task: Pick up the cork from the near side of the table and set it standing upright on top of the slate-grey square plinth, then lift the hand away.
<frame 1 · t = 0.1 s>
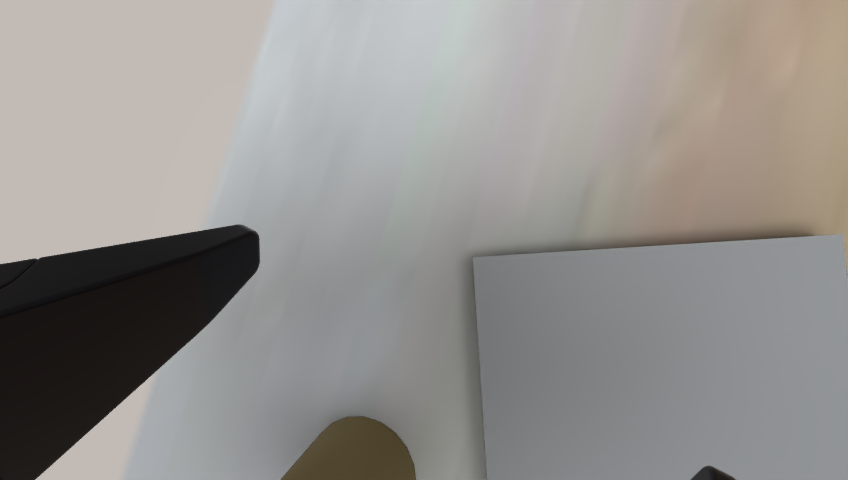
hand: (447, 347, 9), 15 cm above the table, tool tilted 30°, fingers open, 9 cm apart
plinth: (645, 403, 21), on the table
cork: (362, 472, 25), on the table
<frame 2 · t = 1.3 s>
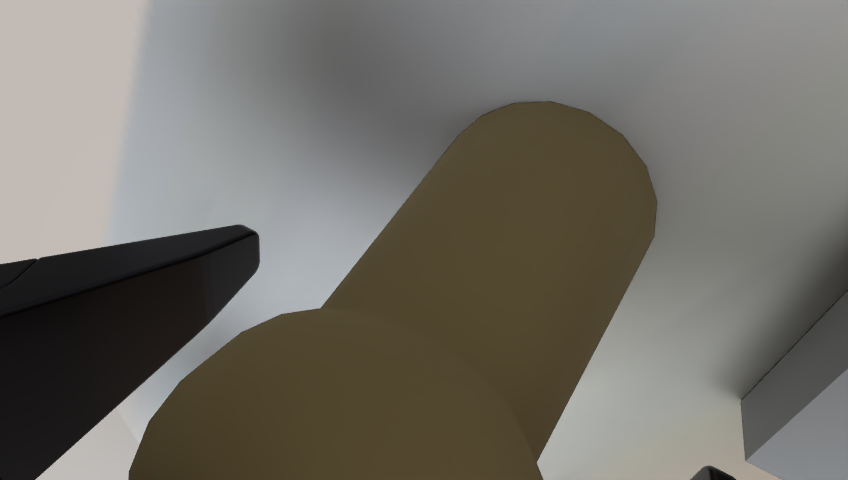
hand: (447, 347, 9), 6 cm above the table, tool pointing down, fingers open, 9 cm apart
cork: (538, 208, 13), on the table
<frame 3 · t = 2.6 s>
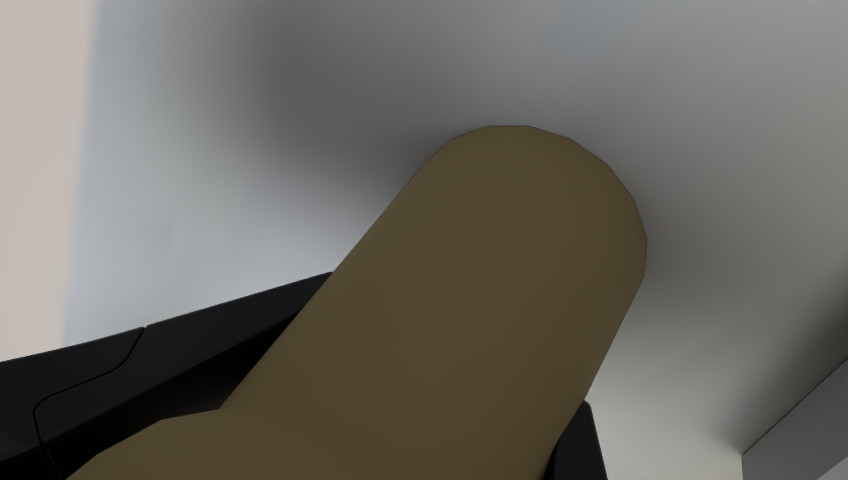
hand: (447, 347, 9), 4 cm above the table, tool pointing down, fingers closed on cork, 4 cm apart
cork: (516, 241, 12), on the table, touching gripper
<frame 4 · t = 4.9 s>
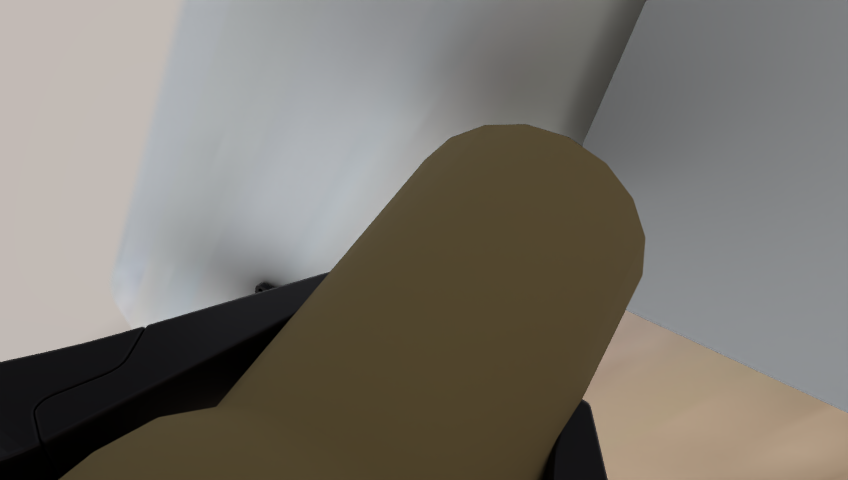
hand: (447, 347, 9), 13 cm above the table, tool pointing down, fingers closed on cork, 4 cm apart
plinth: (805, 168, 16), on the table
cork: (515, 239, 12), point 9 cm above the table, touching gripper
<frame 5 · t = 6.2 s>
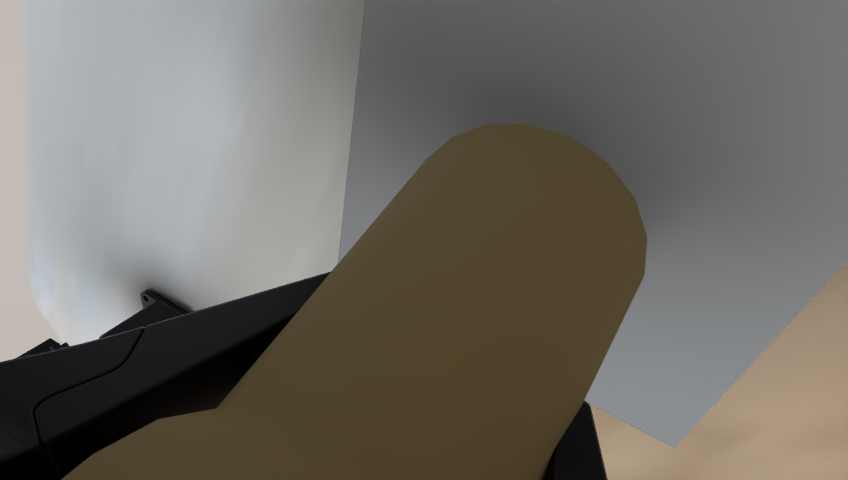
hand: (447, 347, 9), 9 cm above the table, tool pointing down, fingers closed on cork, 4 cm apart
plinth: (565, 172, 16), on the table
cork: (516, 240, 12), point 5 cm above the table, touching gripper
when the fingers open (7 cm above the table, at t = 7.2 s): cork drops 1 cm, resting on plinth.
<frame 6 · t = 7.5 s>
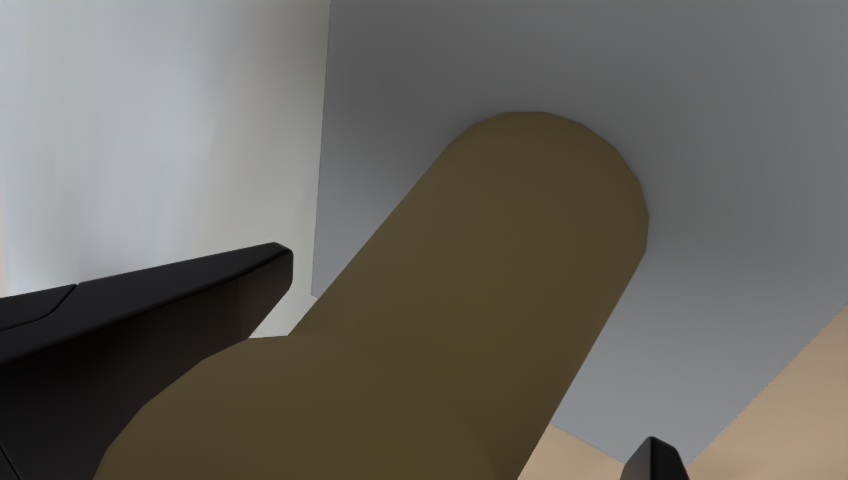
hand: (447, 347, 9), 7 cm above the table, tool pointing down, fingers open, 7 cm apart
plinth: (549, 192, 15), on the table
cork: (529, 219, 13), point 2 cm above the table, touching plinth
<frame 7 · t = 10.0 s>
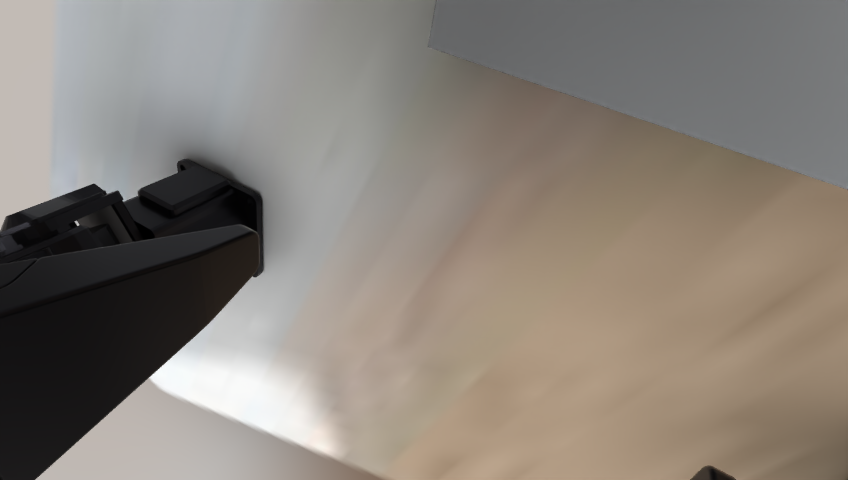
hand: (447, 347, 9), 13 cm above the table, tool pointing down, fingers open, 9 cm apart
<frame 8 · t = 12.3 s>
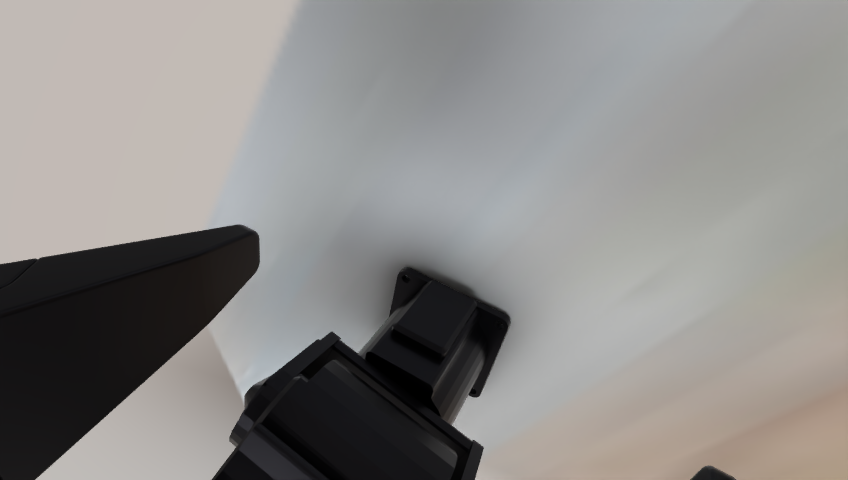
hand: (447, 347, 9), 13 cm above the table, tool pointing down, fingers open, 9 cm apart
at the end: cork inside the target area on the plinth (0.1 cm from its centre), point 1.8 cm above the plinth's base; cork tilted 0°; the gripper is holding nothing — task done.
